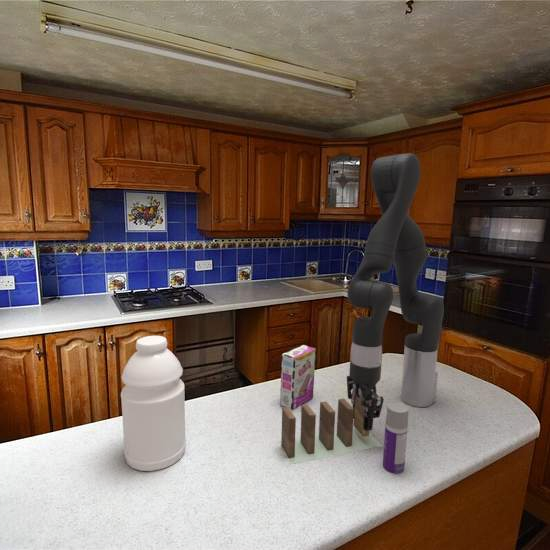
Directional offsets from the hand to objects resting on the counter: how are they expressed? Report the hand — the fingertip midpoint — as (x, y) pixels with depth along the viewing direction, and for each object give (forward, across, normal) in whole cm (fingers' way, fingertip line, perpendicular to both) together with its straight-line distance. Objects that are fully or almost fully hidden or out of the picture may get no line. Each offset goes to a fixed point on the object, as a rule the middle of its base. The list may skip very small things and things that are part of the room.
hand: (361, 423), depth 95 cm
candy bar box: (+4, +22, +9) cm, 24 cm away
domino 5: (+2, 0, 0) cm, 2 cm away
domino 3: (+4, 0, +10) cm, 11 cm away
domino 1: (+4, 0, +20) cm, 20 cm away
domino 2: (+4, 0, +15) cm, 15 cm away
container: (+4, -12, -1) cm, 13 cm away
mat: (+4, 0, +9) cm, 10 cm away
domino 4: (+4, 0, +5) cm, 6 cm away
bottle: (+5, +9, +50) cm, 51 cm away
